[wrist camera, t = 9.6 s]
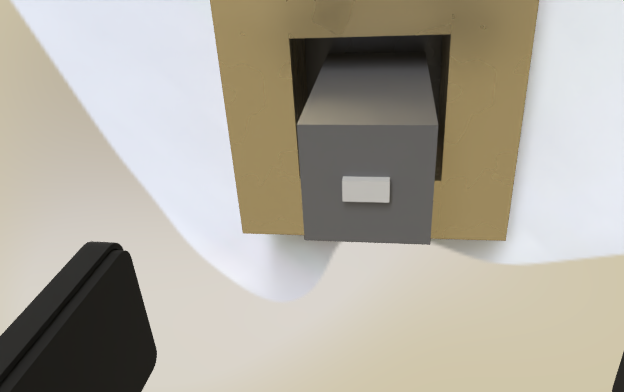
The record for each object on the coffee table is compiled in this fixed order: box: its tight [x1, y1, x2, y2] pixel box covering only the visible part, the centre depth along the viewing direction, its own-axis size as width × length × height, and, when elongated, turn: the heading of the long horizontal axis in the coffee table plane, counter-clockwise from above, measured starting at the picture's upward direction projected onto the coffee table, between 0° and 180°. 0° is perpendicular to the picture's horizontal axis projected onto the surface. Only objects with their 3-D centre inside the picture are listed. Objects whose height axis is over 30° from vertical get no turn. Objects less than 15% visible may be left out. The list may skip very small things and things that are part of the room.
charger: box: [297, 52, 438, 245], centre depth 20 cm, size 4×4×8 cm
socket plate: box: [210, 0, 539, 241], centre depth 22 cm, size 11×11×4 cm
